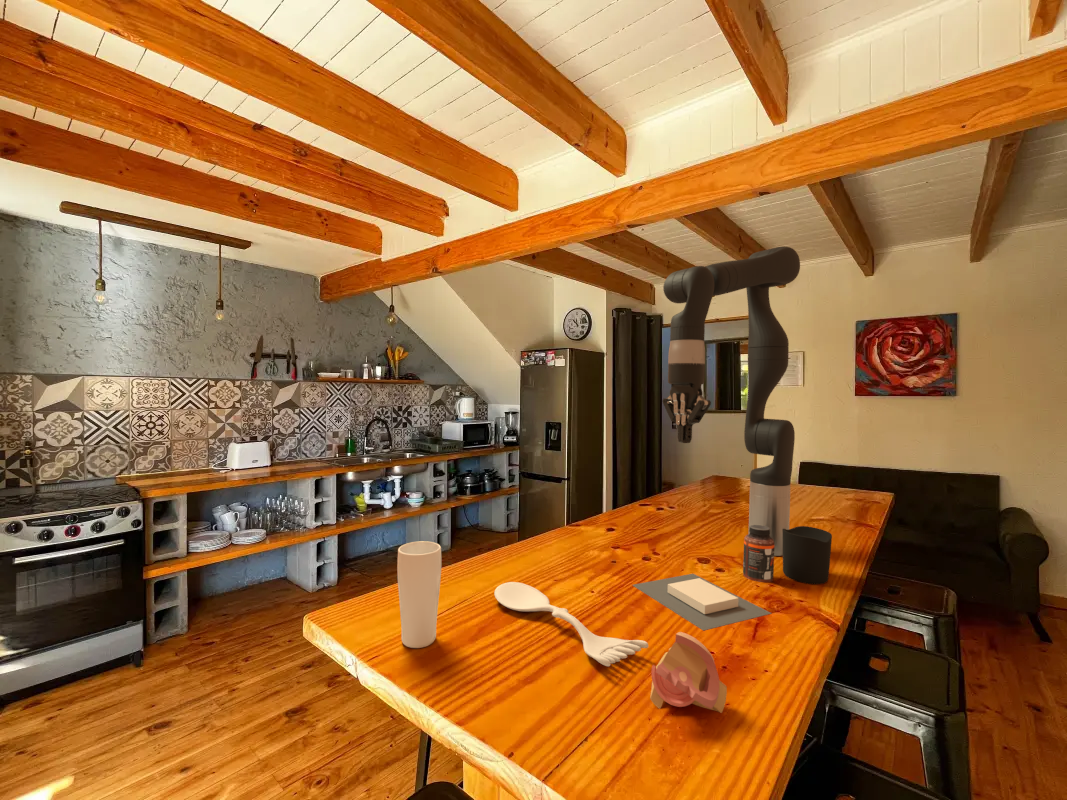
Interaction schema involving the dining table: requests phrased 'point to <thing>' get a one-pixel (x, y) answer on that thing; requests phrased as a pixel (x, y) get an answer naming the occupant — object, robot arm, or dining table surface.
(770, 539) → the supplement bottle
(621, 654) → the spoon
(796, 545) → the pen holder
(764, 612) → the mat
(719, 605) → the tile
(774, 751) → the dining table surface
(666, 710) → the dining table surface
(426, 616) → the drinking glass
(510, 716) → the dining table surface
